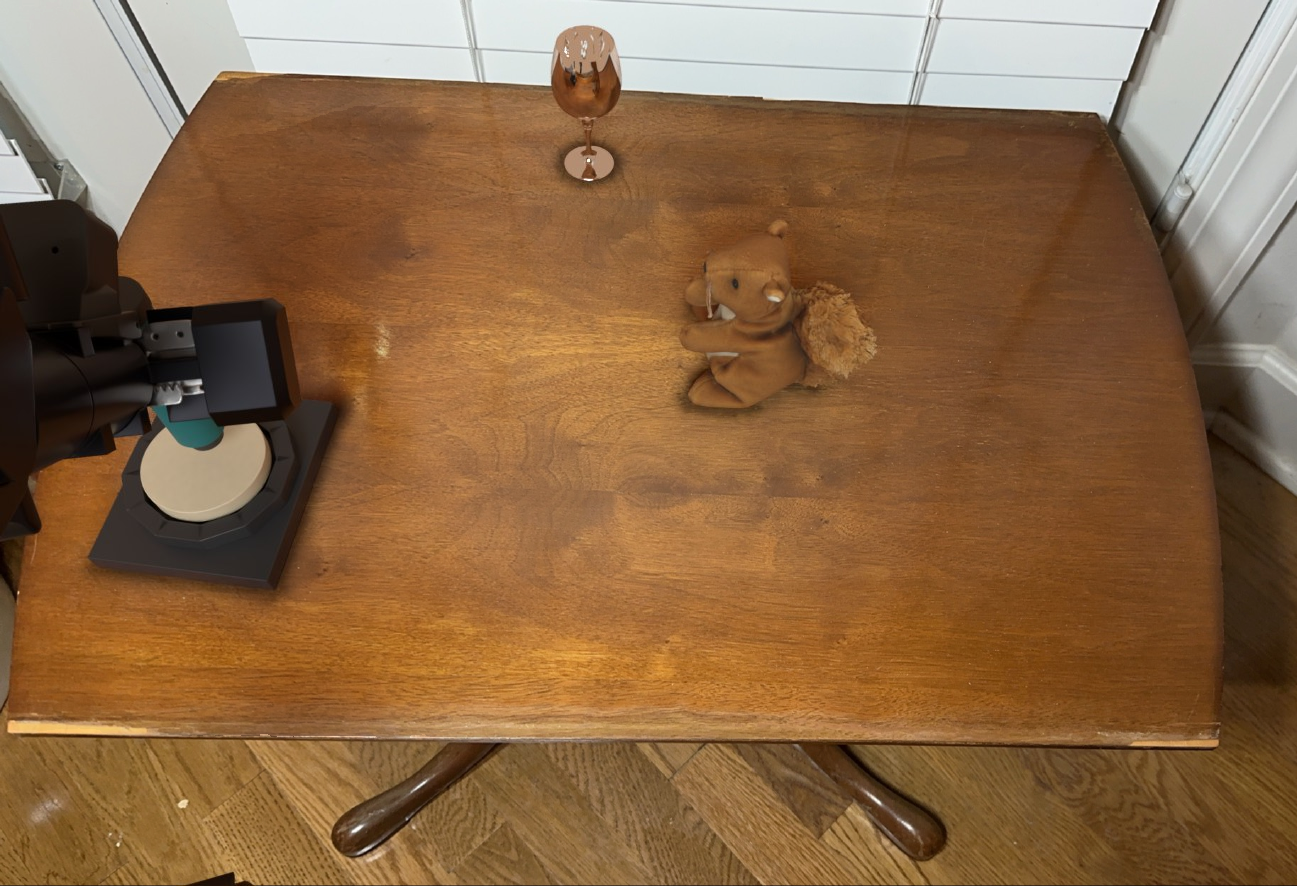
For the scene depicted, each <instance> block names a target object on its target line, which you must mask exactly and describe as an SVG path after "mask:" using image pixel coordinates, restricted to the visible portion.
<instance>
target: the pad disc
mask: <svg viewBox="0 0 1297 886" xmlns="http://www.w3.org/2000/svg"><path fill="white" fill-rule="evenodd" d="M223 431H224V436H223V439H222V441H221V443H220V444H219V445H218V446H216V447H215V448H213V449H211V450H207V451H198V450H195V449H193V448H189V447H185V446H182V445H181V444H179V443H178V442H177V441H176V440H175V438H174V437H173V436H172V434H171V433H170V432H169V431H168V429H167V428H166V427H165V428H164V429H163V430H162V431H161V432H160V433H159V434H158V435H157V436H156V437H155V438H154V439H153V440H152V442H151V443H150V445H149V446H148V448H147V450H146V452H145V454H144V456H143V459H142V463H141V471H140V474H141V482H142V486H143V488H144V490H145V492H146V493H147V495H148V496H149V498H150V499H151V500H152V501H153V502H154V503H155V504H156V505H157V506H158V507H159V508H160V509H161V510H162V511H163V512H165V513H166V514H168V515H170V516H172V517H174V518H177V519H180V520H185V521H193V522H201V521H210V520H215V519H218V518H222V517H224V516H227V515H229V514H231V513H233V512H235V511H237V510H239V509H240V508H242V507H243V506H245V505H246V504H247V503H248V502H250V501H251V500H252V499H253V498H254V497H255V496H256V495H257V494H258V492H259V491H260V490H261V489H262V487H263V485H264V484H265V482H266V480H267V478H268V476H269V473H270V469H271V463H272V454H271V449H270V446H269V443H268V441H267V439H266V438H265V436H264V434H263V433H262V431H261V430H260V428H259V427H258V426H257V424H256V423H252V424H242V425H232V426H225V427H224V430H223Z"/></svg>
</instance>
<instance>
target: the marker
mask: <svg viewBox="0 0 1297 886" xmlns="http://www.w3.org/2000/svg"><path fill="white" fill-rule="evenodd" d="M119 292H120V298H119V302H120V306H121V311H122V312H126V311H137V315H138V320H139V325H140V329H141V331H142V329H143V328H144V326H146V325H148V320H147V315H146V310H152V309H155V307H154V306H153V303H152V299H151V297H150V296H149V295H148V294H147V292H146V290H145V289H144V287H143V286H142V285H141V283H140V282H138V281H137V279H135V278H132V277H130V276H125V275H119ZM157 390H158V389H157ZM150 409H151V410H152V411H153V412H154V414H155V416H156V415H157V416H158V417H159V419H160V420H161V421H162V423H163V424H164V425H165V427H166V428H167V429H168V431H169V432H170V433H171V434H172V436H173V437H174V438H175V440H176V441H177V442H178V443H179V444H181V445H182V446H185V447H189V448H193V449H195V450H198V451H207V450H211V449H213V448H215V447H216V446H218V445H219V444H220V443H221V441H222V439H223V436H224V431H223V430H224V427H225V426H223V427H217V425H216V424H215V422H214V421H213V419H203V420H193V421H183V422H173V423H170V422H169V418H168V413H167V409H166V405H163V406H153V407H150Z"/></svg>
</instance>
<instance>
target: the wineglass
mask: <svg viewBox="0 0 1297 886" xmlns="http://www.w3.org/2000/svg"><path fill="white" fill-rule="evenodd" d="M621 67H622V66H621V60H620V56H619V53H618V49H617V45H616V41H615V39H614V37H613V35H612V34H611V33H610V32H608V31H607V30H605V29H604V28H602V27H599V26H595V25H589V24H586V25H583V24H582V25H575V26H571V27H568V28H567V29H565V30H563V31H562V32H560V33H559V35H558V36H557V37H556V40H555V42H554V47H553V52H552V58H551V65H550V87H551V92H552V95H553V98H554V100H555V102H556V104H557V105H558V107H559V108H560V110H561V111H563V112H564V113H565V114H567V115H568V116H570V117H572V118H574V119H578V120H581V123H582V125H581V126H582V127H583V130H584V134H585V145H580V146H577V147H575V148H573V149H571V150H570V151H569V152H567V154H566V156H565V157H564V161H563V163H564V165H563V166H564V169H565V171H566V172H567V173H568V175H570V176H571V177H573V178H575V179H577V180H580V181H586V182H590V181H591V182H593V181H598V180H601V179H604V178H606V177H607V176H608V175H610V174H611V172H612V171H613V169H614V167H615V159H614V157H613V155H612V154H611V153H610V152H609V151H608V150H607V149H605V148H603V147H601V146H598V145H592V132H593V127H594V124H595V120H598V119H600V118H603V117H604V116H607V115H608V114H609V113H610V112H612V110H613V109H614V108H615V107H616V106H617V104H618V102H619V100H620V97H621V92H622V85H623V77H622V76H623V73H622V68H621Z"/></svg>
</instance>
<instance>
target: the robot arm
mask: <svg viewBox="0 0 1297 886" xmlns="http://www.w3.org/2000/svg"><path fill="white" fill-rule="evenodd" d="M119 249H120V247H119V237H118V234H117V231H115V229H114V227H112V226H111V225H110V224H108V223H106V222H105V221H104V220H102V219H101V218H99V217H98V216H96V215H95V214H93V213H92V212H91V211H90V210H88V209H87V208H85V207H84V206H82V205H81V204H80V203H78V202H76V201H74V200H72V199H67V198H58V199H56V198H55V199H47V200H46V199H45V200H33V201H32V200H31V201H21V202H20V201H18V202H6V203H0V542H4V541H10V540H14V539H19V538H24V537H29V536H34V535H38V534H39V533H40V532H41V531H42V527H43V523H42V519H41V516H40V513H39V511H38V508H37V506H36V503H35V500H34V498H33V495H32V492H31V489H30V487H29V480H30V477H31V476H32V475H35V474H36V473H39V472H40V471H42V470H45V469H47V468H48V467H51V466H53V465H55V464H57V463H59V462H62V461H63V460H72V459H82V458H89V457H90V458H92V457H100V456H102V457H103V456H108V455H110V454H112V453H113V452H115V451H117V446H116V441H115V439H116V438H125V437H136V436H142V435H145V434H146V433H148V432H150V431H152V427H151V425H152V423H151V418H150V413H149V409H148V408H151V407H153V406H163V405H166V409H167V413H168V418H169V422H170V423H173V422H183V421H193V420H203V419H213V421H214V422H215V424H216V425H217V427H223V426H232V425H242V424H252V423H262V422H271V421H281V420H285V419H287V418H288V417H289V416H290V415H292V414H293V413H294V412H295V410H296V409H297V408H298V407H299V405H300V404H301V403H302V399H303V398H302V392H301V388H300V387H301V386H300V381H299V376H298V371H297V364H296V359H295V353H294V347H293V342H292V336H291V331H290V325H289V319H288V313H287V308H286V306H285V305H284V304H282V303H281V302H280V301H278V300H277V299H276V298H275V297H272V296H271V297H262V298H261V297H260V298H250V299H239V300H228V301H219V302H211V303H204V304H203V303H202V304H197V305H187V306H186V305H185V306H176V307H163V308H154V309H152V310H146V315H147V320H148V325H146V326H144V328H143V329H142V331H141V329H140V325H139V320H138V315H137V311H126V312H122V311H121V306H120V302H119V298H120V292H119V276H120V275H119V260H118V250H119ZM157 389H158V390H157ZM184 886H255V885H254V884H253V883H252V882H250V881H248V880H241V881H238V882H236V875H235V872H234V871H230V872H226V873H224V874H223V873H222V874H219V875H216V876H213V877H212V876H211V877H209V878H206V879H203V880H199V881H196V882H192V883H189V884H185V885H184Z"/></svg>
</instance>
